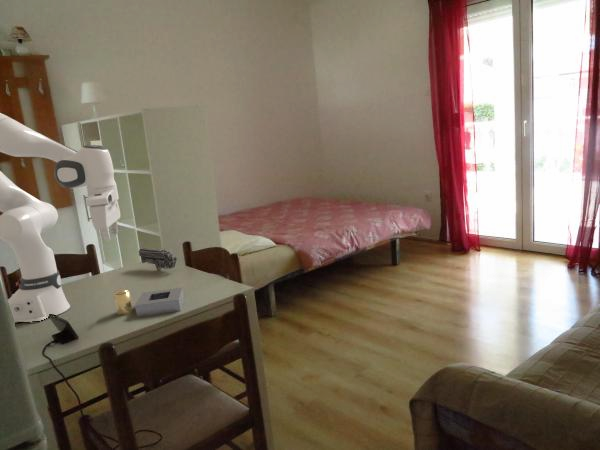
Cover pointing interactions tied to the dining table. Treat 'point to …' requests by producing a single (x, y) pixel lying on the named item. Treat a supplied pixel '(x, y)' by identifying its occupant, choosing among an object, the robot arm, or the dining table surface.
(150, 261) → the toy gun
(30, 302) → the robot arm
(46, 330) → the dining table surface
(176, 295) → the housing
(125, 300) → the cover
